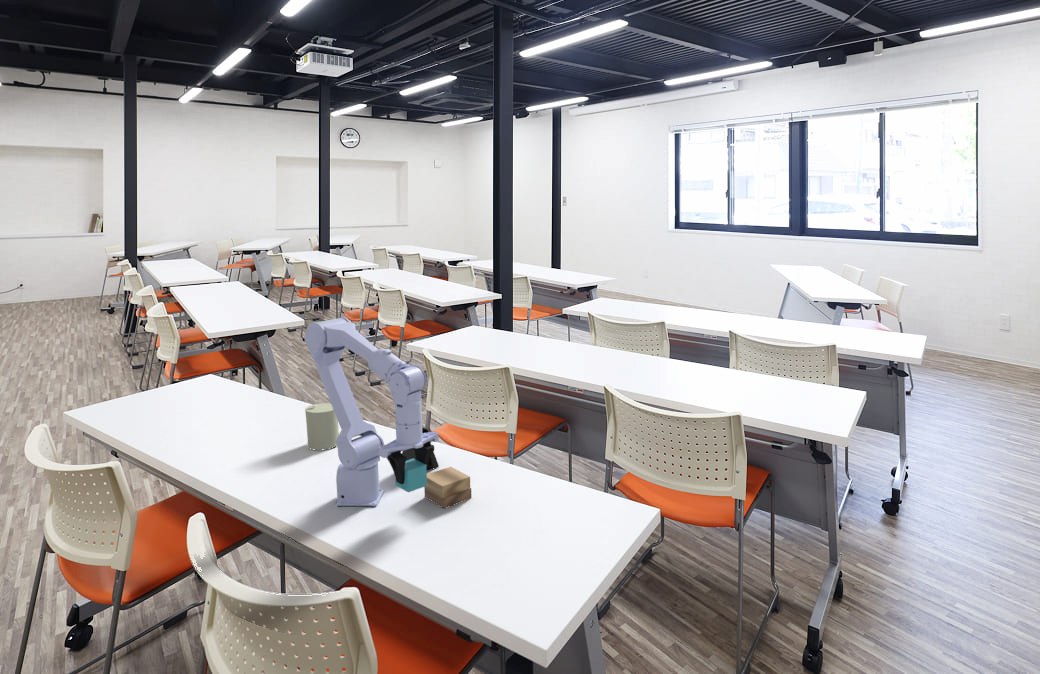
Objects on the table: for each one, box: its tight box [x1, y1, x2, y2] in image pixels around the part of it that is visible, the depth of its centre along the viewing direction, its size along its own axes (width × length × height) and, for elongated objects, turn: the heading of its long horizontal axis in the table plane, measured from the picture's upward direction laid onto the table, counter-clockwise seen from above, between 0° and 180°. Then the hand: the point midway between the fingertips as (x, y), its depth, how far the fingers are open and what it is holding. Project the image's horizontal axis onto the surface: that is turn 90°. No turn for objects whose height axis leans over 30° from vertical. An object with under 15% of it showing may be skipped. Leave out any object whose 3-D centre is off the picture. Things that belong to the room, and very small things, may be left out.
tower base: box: [424, 487, 472, 509], centre depth 149 cm, size 8×8×3 cm
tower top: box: [423, 466, 471, 498], centre depth 148 cm, size 8×8×3 cm
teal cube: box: [394, 459, 428, 493], centre depth 138 cm, size 5×5×5 cm
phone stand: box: [401, 426, 440, 472], centre depth 165 cm, size 9×6×12 cm, turn 135°
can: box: [304, 402, 340, 451], centre depth 182 cm, size 9×9×12 cm
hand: (410, 478), depth 139 cm, fingers closed on teal cube, 5 cm apart
